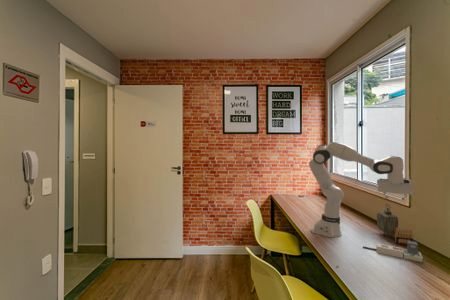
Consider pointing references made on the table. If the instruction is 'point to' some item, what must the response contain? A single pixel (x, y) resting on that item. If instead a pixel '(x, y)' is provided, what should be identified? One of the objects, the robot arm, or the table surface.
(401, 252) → the power strip
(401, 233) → the ammunition clip
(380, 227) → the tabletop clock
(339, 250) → the table surface
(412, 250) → the block
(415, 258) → the parts tray
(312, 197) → the table surface
